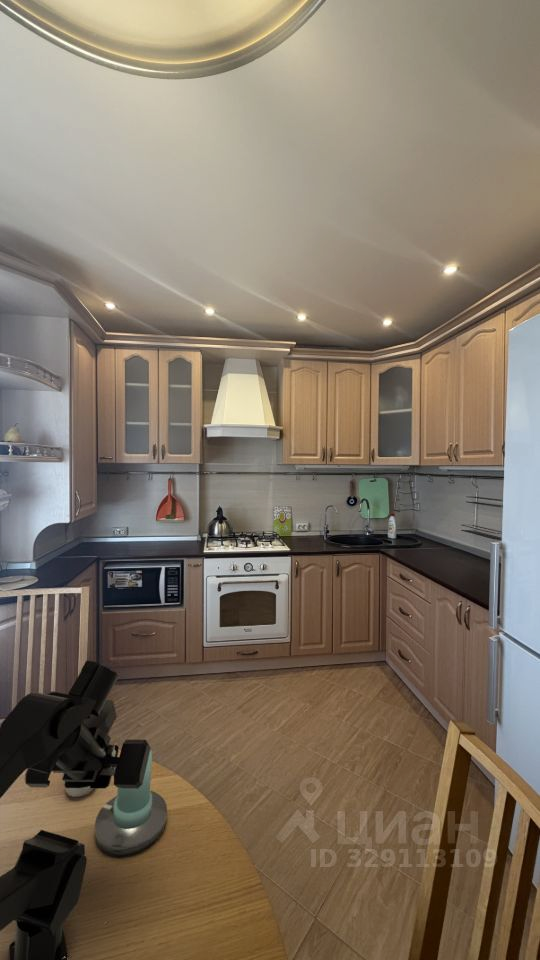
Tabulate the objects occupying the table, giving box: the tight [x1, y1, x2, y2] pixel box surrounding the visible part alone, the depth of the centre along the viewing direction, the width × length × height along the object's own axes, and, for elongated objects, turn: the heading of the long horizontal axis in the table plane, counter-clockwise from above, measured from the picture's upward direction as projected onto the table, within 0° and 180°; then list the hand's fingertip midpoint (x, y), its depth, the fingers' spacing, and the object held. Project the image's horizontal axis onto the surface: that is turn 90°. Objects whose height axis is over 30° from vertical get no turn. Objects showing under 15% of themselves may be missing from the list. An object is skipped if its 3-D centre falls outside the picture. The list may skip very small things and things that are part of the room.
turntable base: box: [95, 826, 165, 858], centre depth 76 cm, size 12×12×1 cm
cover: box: [113, 749, 153, 829], centre depth 77 cm, size 7×7×11 cm
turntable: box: [94, 790, 168, 851], centre depth 76 cm, size 13×13×1 cm
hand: (105, 779), depth 70 cm, fingers closed
